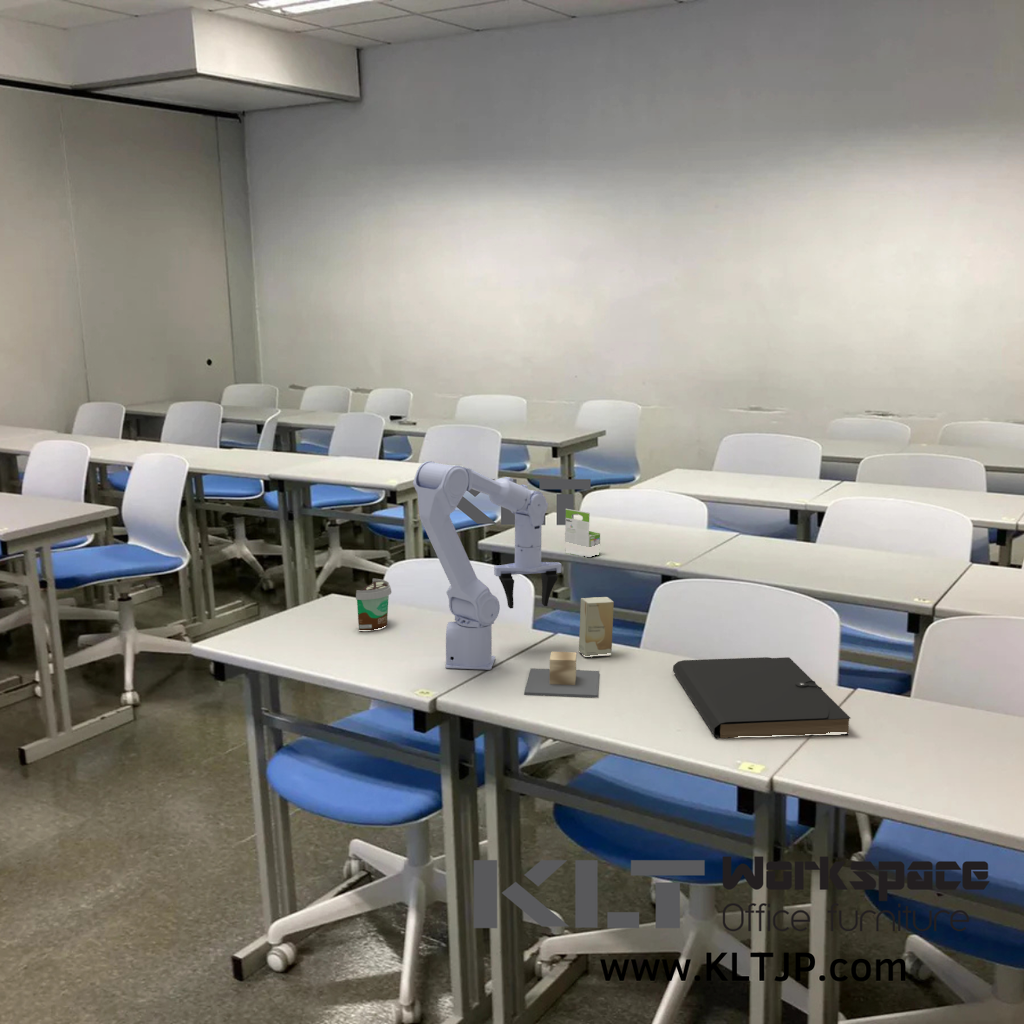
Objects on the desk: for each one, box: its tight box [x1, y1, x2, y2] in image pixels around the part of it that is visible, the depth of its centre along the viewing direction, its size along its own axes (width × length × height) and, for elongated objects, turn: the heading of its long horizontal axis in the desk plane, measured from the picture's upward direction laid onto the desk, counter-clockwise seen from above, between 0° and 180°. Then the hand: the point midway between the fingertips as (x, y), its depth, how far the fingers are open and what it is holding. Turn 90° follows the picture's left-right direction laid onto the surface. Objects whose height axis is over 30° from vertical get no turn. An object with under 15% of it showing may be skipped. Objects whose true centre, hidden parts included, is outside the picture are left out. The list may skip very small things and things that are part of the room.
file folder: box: [672, 656, 851, 739], centre depth 196 cm, size 33×4×24 cm
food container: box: [355, 578, 392, 631], centre depth 242 cm, size 12×6×10 cm, turn 168°
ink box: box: [564, 508, 601, 547], centre depth 318 cm, size 10×5×14 cm, turn 43°
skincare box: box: [578, 596, 615, 656], centre depth 222 cm, size 6×4×12 cm
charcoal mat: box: [523, 667, 600, 698], centre depth 205 cm, size 14×14×1 cm
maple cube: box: [549, 651, 577, 685], centre depth 206 cm, size 5×5×5 cm
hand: (527, 606), depth 226 cm, fingers open, 7 cm apart
